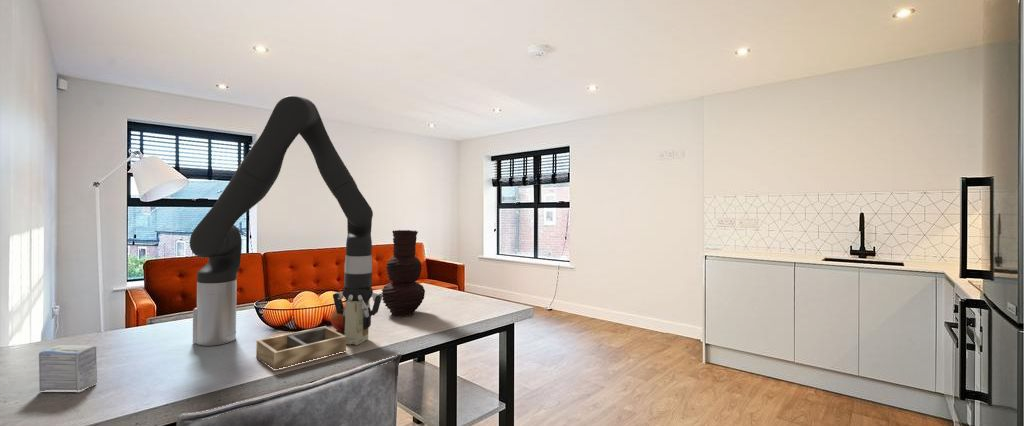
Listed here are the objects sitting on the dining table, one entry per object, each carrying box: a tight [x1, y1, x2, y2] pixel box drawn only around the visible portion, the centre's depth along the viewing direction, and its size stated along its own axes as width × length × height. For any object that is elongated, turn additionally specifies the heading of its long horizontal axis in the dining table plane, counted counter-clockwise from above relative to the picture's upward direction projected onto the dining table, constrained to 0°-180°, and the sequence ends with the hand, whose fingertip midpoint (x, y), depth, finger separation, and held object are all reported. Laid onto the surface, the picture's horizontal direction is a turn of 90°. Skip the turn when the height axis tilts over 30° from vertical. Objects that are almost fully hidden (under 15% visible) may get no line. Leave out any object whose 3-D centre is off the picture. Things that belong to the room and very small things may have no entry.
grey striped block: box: [38, 344, 98, 392], centre depth 91 cm, size 8×4×9 cm, turn 92°
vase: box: [381, 229, 426, 318], centre depth 156 cm, size 15×15×30 cm
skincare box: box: [344, 298, 371, 346], centre depth 126 cm, size 6×4×12 cm
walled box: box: [255, 325, 347, 369], centre depth 114 cm, size 18×12×4 cm, turn 139°
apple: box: [329, 303, 346, 332], centre depth 135 cm, size 8×8×8 cm
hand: (357, 328), depth 126 cm, fingers closed on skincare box, 5 cm apart
